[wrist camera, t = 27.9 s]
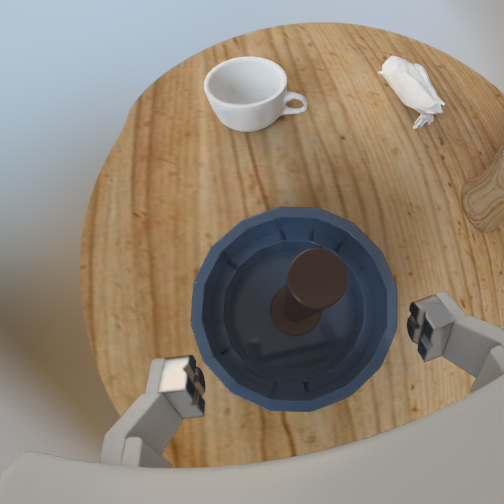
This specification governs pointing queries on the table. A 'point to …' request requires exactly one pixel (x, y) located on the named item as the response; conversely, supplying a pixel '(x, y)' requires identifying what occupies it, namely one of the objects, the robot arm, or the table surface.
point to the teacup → (250, 93)
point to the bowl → (264, 330)
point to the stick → (309, 290)
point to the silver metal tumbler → (486, 196)
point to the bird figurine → (413, 88)
